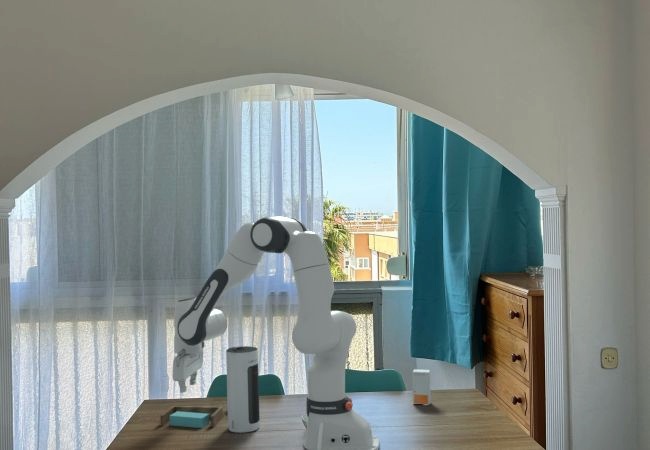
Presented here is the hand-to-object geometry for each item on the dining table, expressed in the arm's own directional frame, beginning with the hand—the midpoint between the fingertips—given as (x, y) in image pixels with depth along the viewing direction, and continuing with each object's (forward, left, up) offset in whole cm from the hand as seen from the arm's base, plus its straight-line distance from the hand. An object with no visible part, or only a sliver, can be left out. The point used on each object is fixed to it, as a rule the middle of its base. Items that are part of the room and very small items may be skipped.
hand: (188, 388), depth 214 cm
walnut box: (0, -3, -12) cm, 12 cm away
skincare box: (-77, -28, -12) cm, 83 cm away
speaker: (-19, +3, -12) cm, 23 cm away
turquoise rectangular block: (0, 0, -12) cm, 12 cm away
